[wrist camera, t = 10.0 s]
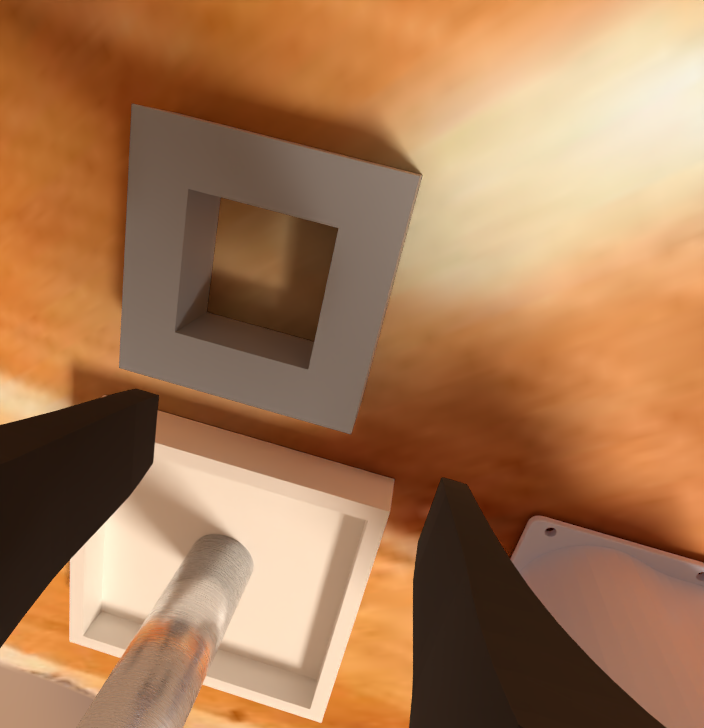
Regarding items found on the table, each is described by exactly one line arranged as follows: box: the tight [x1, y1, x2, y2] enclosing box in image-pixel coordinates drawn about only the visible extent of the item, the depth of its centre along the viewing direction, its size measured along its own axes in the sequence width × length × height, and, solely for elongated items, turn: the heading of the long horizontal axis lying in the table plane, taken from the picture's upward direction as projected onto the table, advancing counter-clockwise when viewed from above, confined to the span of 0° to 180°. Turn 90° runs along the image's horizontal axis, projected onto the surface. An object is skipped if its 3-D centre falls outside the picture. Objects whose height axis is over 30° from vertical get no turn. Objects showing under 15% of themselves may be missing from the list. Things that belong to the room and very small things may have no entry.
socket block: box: [119, 104, 422, 434], centre depth 20 cm, size 10×10×3 cm
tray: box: [70, 395, 395, 723], centre depth 26 cm, size 15×15×2 cm
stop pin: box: [76, 534, 254, 728], centre depth 22 cm, size 4×4×10 cm
